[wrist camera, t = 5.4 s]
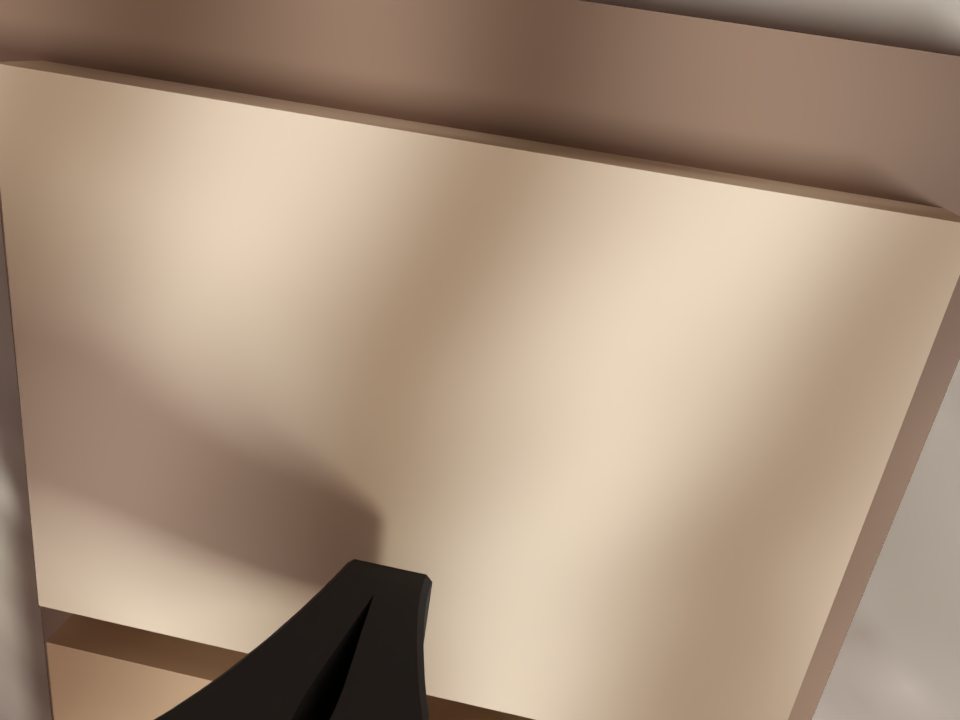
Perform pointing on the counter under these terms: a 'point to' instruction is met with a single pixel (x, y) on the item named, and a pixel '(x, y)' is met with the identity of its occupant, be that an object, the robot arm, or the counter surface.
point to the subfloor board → (542, 118)
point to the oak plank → (452, 387)
